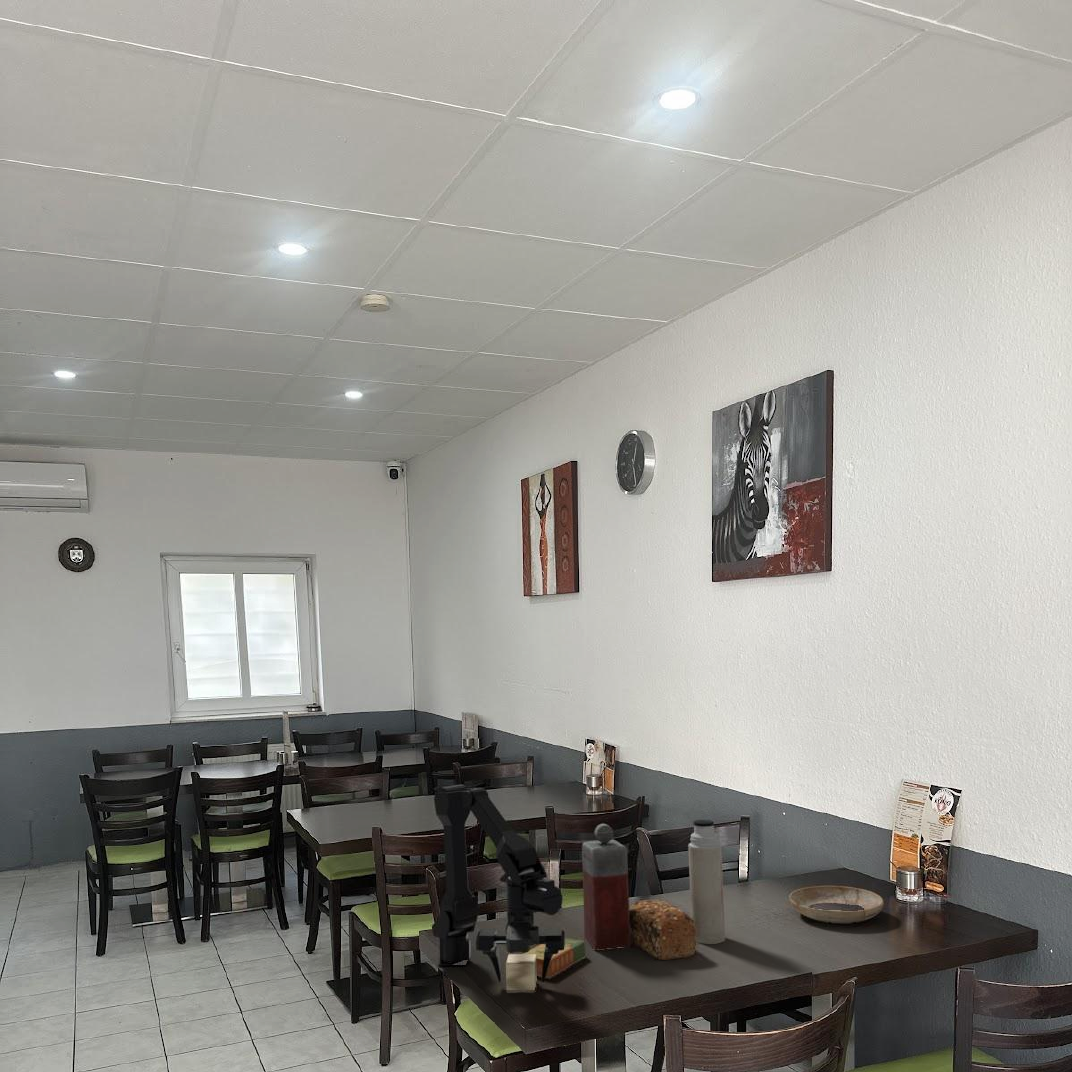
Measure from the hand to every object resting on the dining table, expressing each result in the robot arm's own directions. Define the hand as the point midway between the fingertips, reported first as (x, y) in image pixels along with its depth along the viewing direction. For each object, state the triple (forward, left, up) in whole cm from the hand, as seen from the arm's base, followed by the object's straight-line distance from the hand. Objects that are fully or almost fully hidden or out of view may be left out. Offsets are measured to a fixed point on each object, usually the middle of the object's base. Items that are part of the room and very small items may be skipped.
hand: (521, 981), depth 201 cm
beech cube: (0, 0, -1) cm, 1 cm away
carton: (+6, +14, -2) cm, 15 cm away
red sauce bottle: (+18, +30, -2) cm, 35 cm away
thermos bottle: (+43, +32, -2) cm, 54 cm away
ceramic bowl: (+78, +50, -2) cm, 93 cm away
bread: (+31, +26, -2) cm, 40 cm away
